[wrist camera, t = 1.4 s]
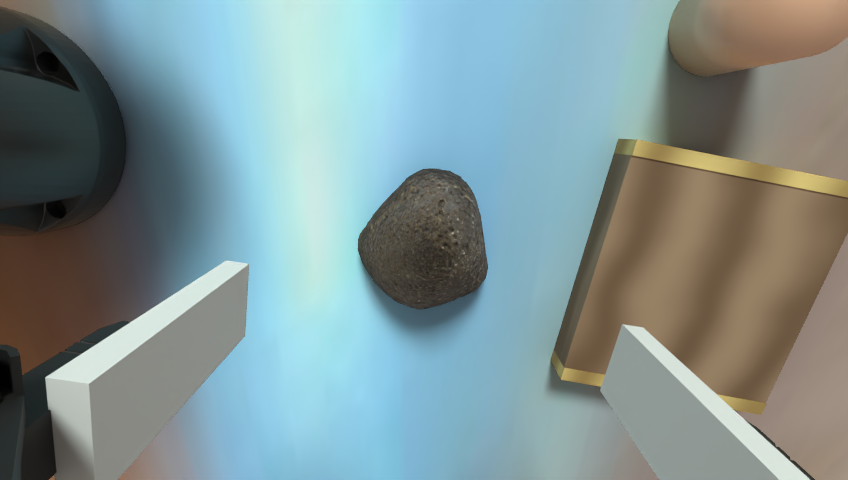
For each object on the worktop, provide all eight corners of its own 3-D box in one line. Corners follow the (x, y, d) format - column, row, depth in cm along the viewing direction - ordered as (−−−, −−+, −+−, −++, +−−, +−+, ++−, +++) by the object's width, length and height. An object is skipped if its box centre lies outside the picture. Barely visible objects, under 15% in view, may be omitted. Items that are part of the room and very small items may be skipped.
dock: (550, 360, 33) (560, 379, 30) (618, 139, 28) (637, 139, 26) (736, 393, 33) (761, 414, 31) (832, 181, 29) (871, 185, 26)
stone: (426, 287, 35) (526, 304, 28) (345, 310, 29) (445, 339, 22) (419, 175, 34) (521, 163, 27) (334, 176, 28) (435, 161, 21)
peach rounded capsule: (655, 66, 27) (731, 44, 20) (687, -34, 25) (781, -94, 19) (740, 84, 27) (843, 67, 20) (776, -14, 26) (901, -67, 19)
